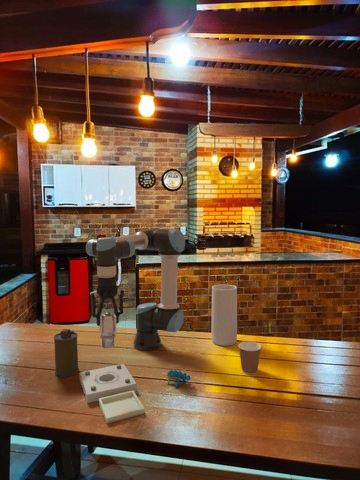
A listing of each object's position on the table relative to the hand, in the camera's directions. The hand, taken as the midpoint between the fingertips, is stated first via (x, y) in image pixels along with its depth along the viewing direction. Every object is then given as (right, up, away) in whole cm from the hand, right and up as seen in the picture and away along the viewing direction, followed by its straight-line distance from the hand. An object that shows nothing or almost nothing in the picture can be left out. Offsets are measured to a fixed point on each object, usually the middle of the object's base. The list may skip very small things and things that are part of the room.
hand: (107, 332), depth 139 cm
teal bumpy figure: (+29, -25, +8) cm, 39 cm away
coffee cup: (+62, -23, +19) cm, 69 cm away
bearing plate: (-2, -25, +7) cm, 26 cm away
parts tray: (+7, -26, -10) cm, 29 cm away
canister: (-23, -24, +20) cm, 39 cm away
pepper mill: (0, -6, 0) cm, 6 cm away
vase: (+54, -20, +54) cm, 79 cm away
